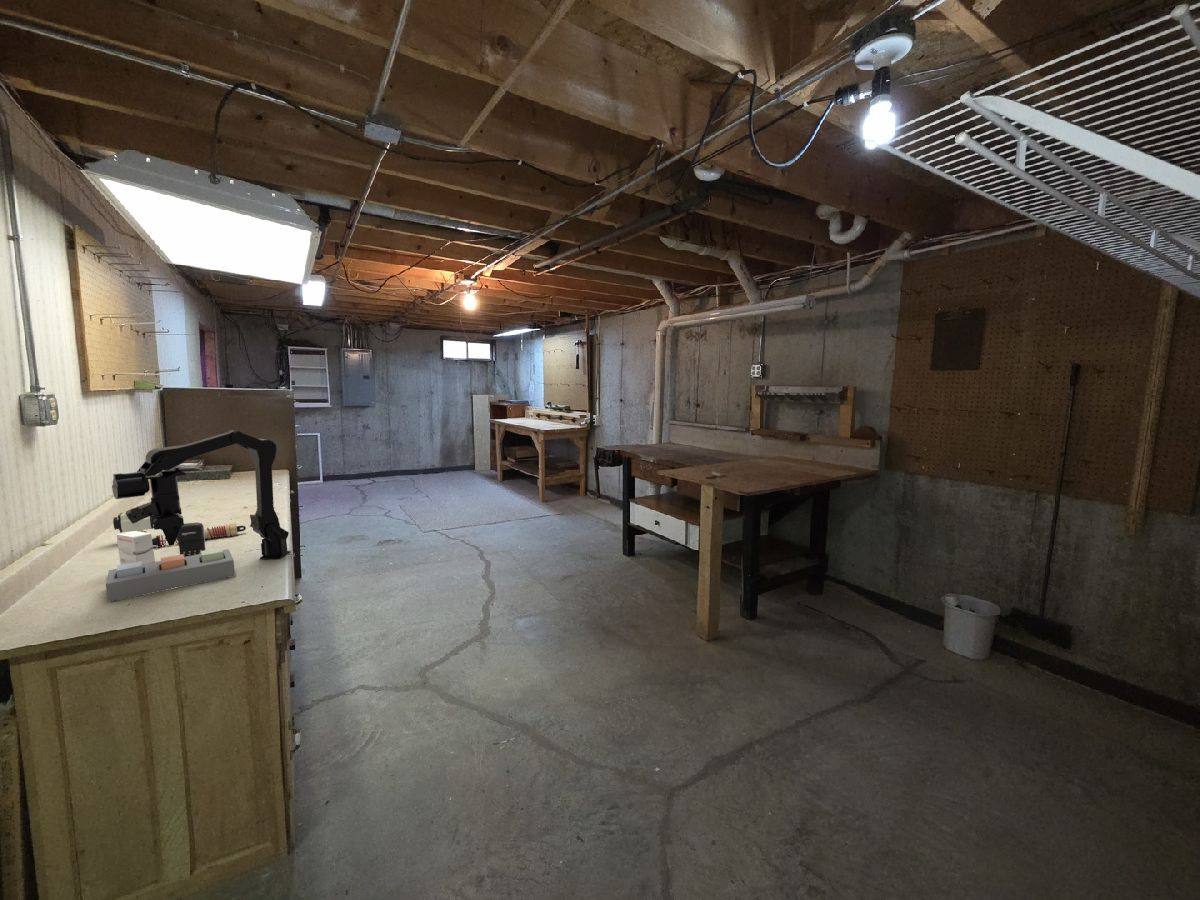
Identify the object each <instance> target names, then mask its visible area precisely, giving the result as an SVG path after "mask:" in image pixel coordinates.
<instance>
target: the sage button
mask: <svg viewBox="0 0 1200 900" xmlns="http://www.w3.org/2000/svg"><path fill="white" fill-rule="evenodd" d="M223 550H224V549H223V548H222V547H217V548H211V549H206V550H204V551H201V560H202V562H207V561H213V560H218V559H223V558H224V556H223Z"/></svg>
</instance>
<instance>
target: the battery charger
mask: <svg viewBox="0 0 1200 900" xmlns="http://www.w3.org/2000/svg"><path fill="white" fill-rule="evenodd" d="M204 530H205V526H204V524H203V523H202V522H200V521H195V522H193V521H192V522H184V525H183V526H181V528H180V531H179V533H178V536H177V543H178V544H177V545H178V547H179V555H181V554H183V555H184V557H186V556H192V555H198V554H201V551H204V550H207V549H206V540H205V532H204Z"/></svg>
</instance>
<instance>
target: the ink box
mask: <svg viewBox="0 0 1200 900" xmlns="http://www.w3.org/2000/svg"><path fill="white" fill-rule="evenodd" d="M116 539H117V540H116V541H117V545H118V546H117V548H118V555H119V565H124V564H129V563H135V562H141V561H142V564H147V563H152V562H156V559H155V552H154V551H155V550H154V546H153V543H152V539H153V536H152V533H150V532H147V533H145V532H139V531H130V532H122V533H118V534H116Z"/></svg>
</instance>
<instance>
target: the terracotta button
mask: <svg viewBox="0 0 1200 900" xmlns="http://www.w3.org/2000/svg"><path fill="white" fill-rule="evenodd" d="M160 561H161V567H162V570H164V569H170V568H175V567H180V566H185V562H184V555H183V554H181V555H180V554H177V555H176V554H175V555H171V556H166V557H160Z"/></svg>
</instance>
